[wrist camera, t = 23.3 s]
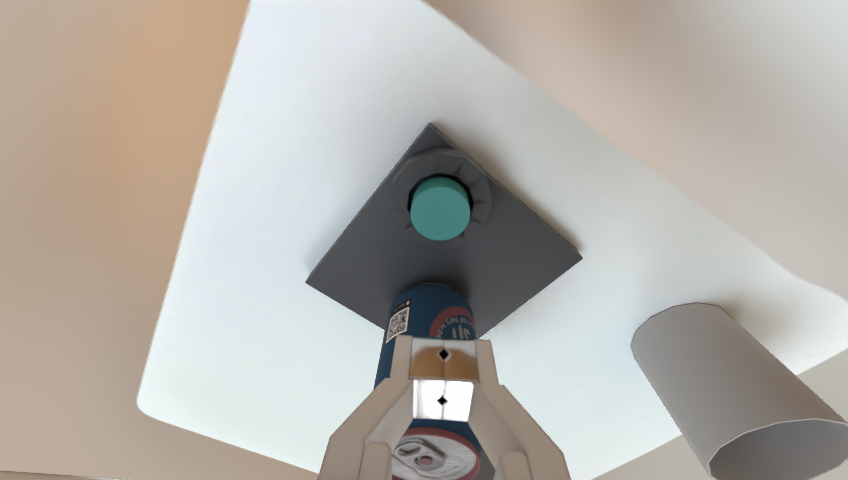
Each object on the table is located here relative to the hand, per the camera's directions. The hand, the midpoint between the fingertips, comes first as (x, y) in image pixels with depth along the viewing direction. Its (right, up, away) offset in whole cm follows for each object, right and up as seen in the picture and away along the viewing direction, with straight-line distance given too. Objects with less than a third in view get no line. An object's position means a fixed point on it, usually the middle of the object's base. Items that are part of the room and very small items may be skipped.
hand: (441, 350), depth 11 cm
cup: (+23, -5, +19) cm, 30 cm away
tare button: (0, +6, +10) cm, 12 cm away
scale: (+1, +2, +16) cm, 16 cm away
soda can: (0, -2, +17) cm, 17 cm away
